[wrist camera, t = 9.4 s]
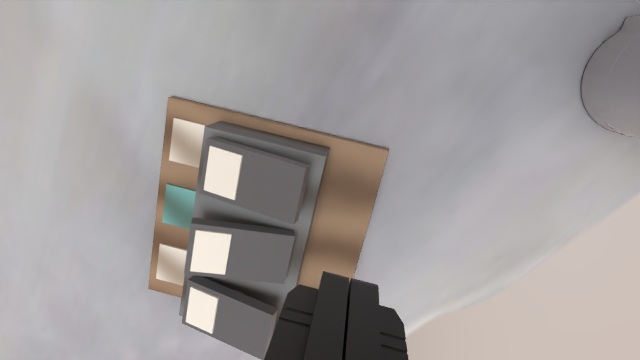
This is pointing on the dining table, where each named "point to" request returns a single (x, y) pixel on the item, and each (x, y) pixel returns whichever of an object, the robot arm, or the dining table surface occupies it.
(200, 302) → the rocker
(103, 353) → the dining table surface
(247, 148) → the rocker
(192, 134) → the switch panel
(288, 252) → the block
